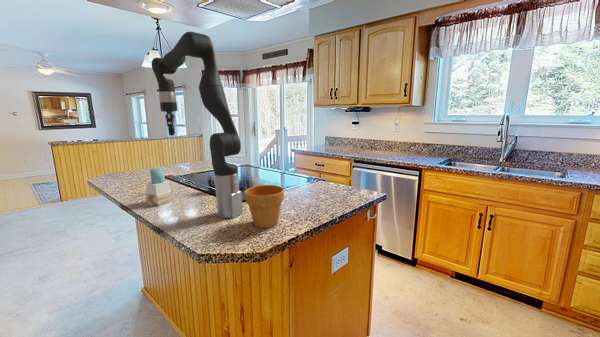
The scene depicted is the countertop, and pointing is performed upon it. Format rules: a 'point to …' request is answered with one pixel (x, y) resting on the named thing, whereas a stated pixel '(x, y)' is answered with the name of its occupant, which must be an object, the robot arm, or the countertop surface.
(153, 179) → the teal cylinder
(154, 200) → the oak base block
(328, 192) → the countertop surface
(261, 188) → the flower pot
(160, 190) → the white top block
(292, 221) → the countertop surface
